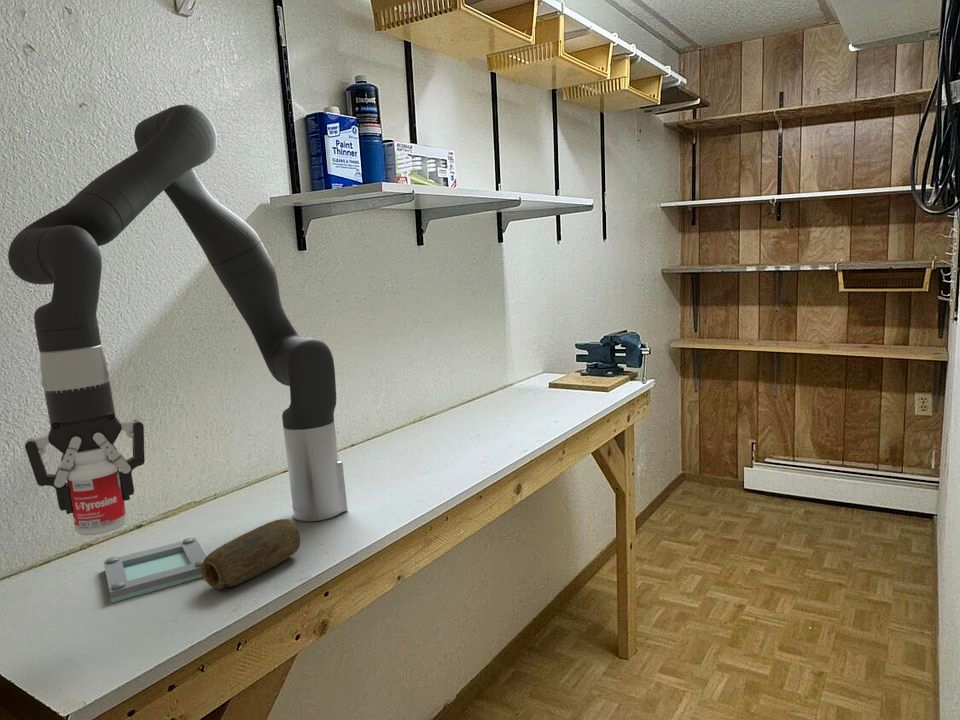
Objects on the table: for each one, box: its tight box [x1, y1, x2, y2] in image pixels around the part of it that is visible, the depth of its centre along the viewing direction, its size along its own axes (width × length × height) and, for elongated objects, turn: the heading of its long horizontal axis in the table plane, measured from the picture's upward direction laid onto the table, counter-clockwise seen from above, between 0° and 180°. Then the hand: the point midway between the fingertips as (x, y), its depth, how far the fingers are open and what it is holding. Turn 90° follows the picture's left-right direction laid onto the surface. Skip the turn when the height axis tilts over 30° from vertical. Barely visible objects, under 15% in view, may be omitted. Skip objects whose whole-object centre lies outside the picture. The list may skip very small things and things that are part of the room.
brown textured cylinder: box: [201, 518, 301, 590], centre depth 108 cm, size 15×7×7 cm, turn 150°
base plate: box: [103, 537, 208, 603], centre depth 111 cm, size 14×14×2 cm
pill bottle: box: [66, 447, 128, 536], centre depth 94 cm, size 6×6×11 cm
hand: (98, 505), depth 94 cm, fingers closed on pill bottle, 6 cm apart
